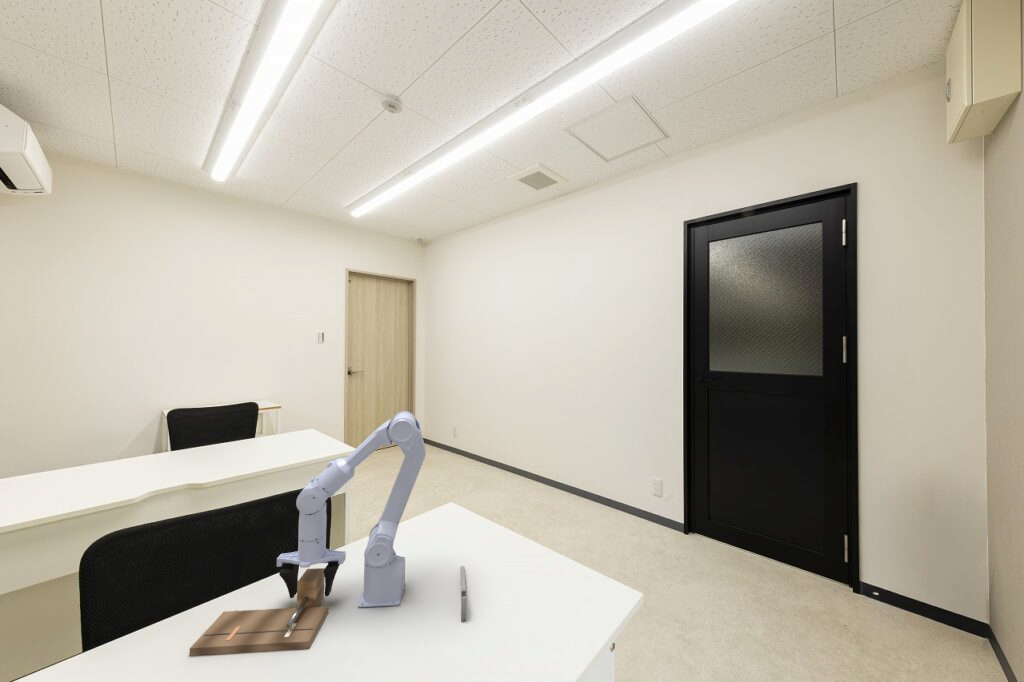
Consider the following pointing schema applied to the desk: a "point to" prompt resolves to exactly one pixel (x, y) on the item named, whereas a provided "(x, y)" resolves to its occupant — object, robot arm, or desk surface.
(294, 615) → the marking gauge
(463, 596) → the caliper
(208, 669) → the desk surface
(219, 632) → the walnut board
